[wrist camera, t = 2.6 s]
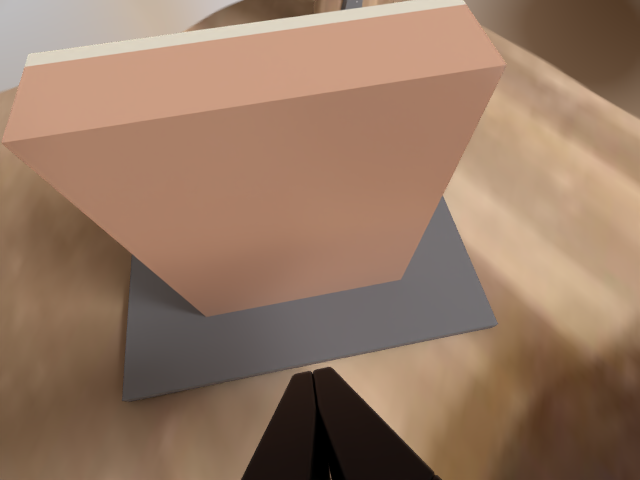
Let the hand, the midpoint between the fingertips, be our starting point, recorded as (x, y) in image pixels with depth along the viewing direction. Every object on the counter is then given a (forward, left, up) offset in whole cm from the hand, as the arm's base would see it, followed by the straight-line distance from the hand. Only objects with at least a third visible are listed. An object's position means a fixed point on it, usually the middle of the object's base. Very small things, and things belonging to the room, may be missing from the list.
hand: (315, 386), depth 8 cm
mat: (+10, 0, -8) cm, 12 cm away
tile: (+6, 0, -7) cm, 9 cm away
